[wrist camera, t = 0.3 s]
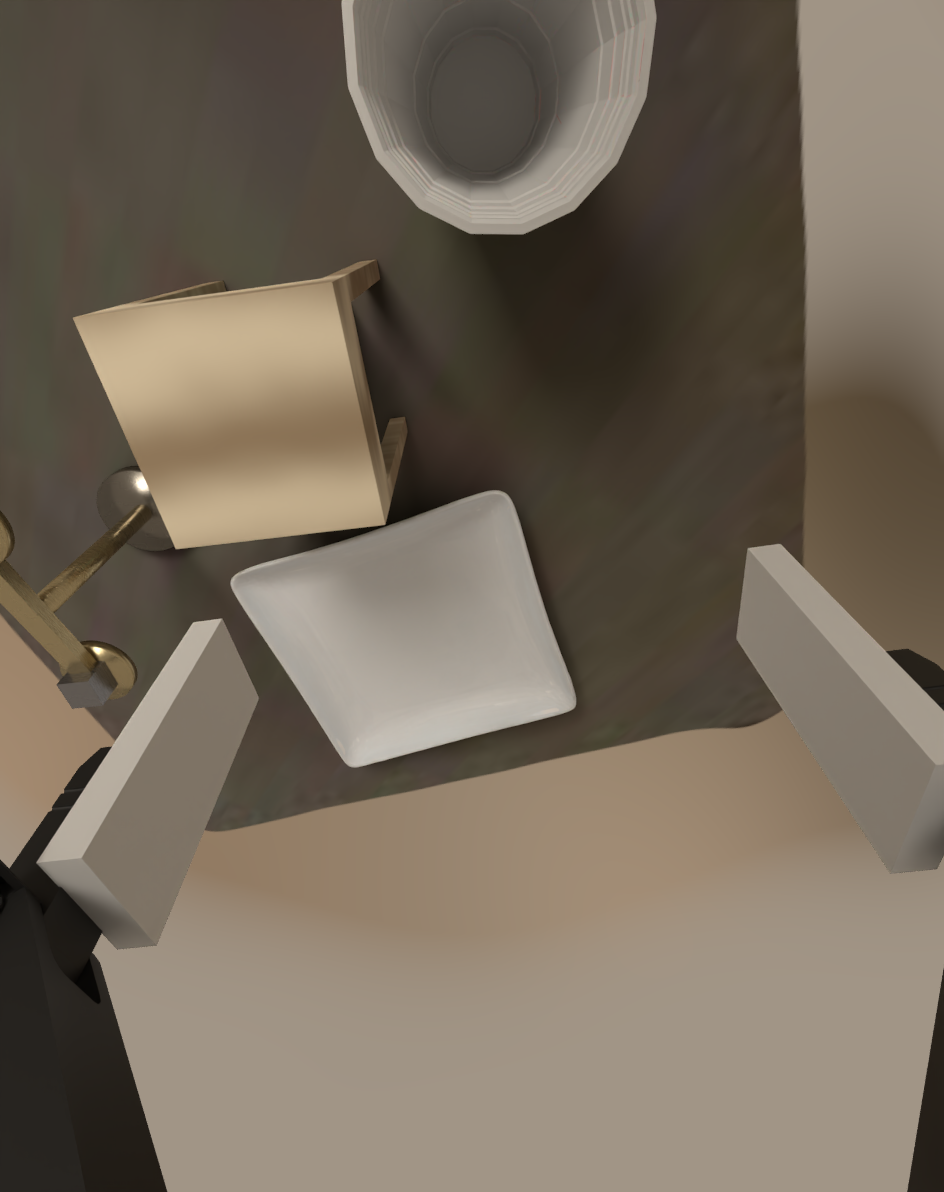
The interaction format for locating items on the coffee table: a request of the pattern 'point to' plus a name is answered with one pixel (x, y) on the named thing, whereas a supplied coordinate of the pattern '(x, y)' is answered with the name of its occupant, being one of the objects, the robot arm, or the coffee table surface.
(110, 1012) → the robot arm
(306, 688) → the salad plate
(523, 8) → the plastic cup
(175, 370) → the wooden stool
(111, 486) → the balance
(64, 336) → the coffee table surface
